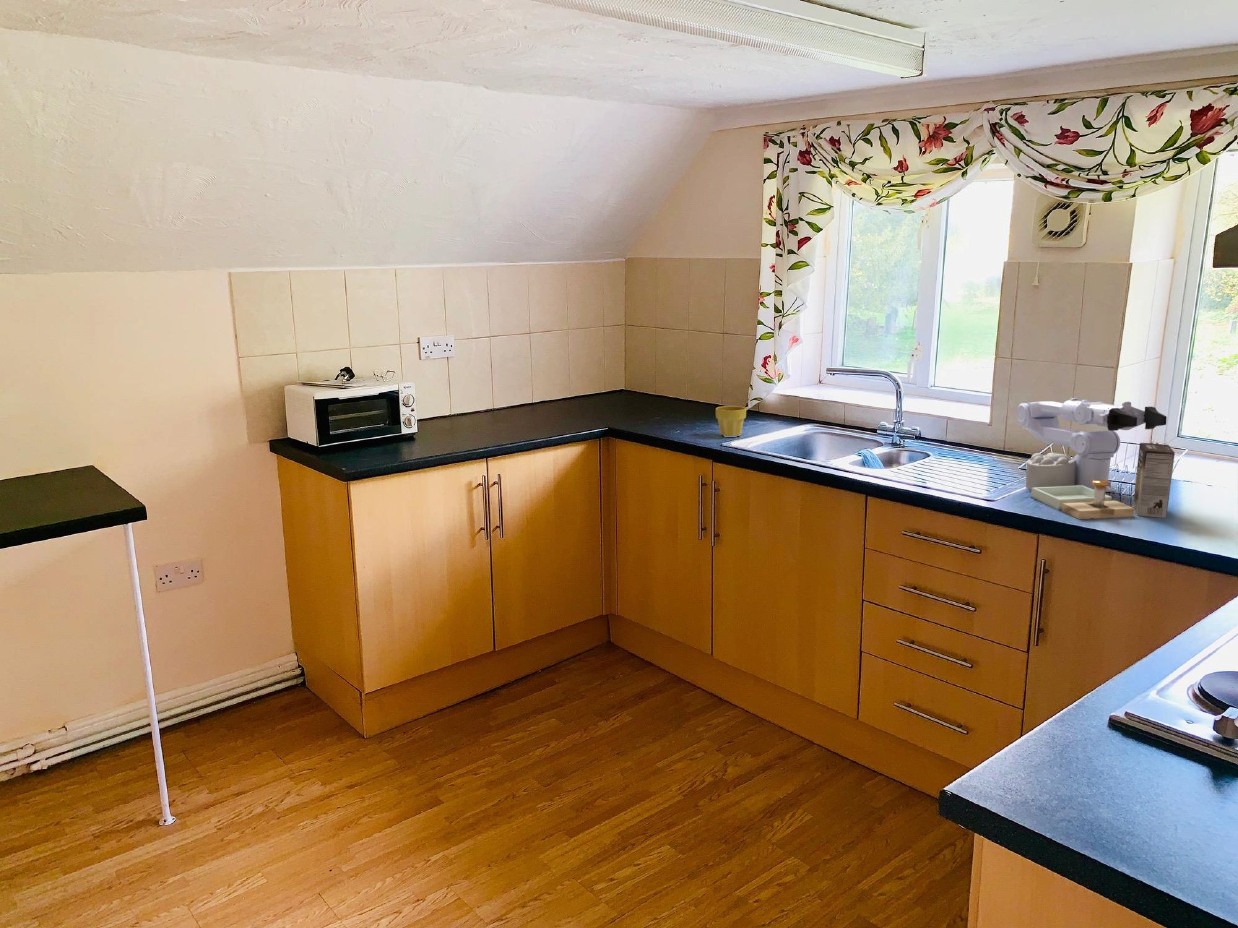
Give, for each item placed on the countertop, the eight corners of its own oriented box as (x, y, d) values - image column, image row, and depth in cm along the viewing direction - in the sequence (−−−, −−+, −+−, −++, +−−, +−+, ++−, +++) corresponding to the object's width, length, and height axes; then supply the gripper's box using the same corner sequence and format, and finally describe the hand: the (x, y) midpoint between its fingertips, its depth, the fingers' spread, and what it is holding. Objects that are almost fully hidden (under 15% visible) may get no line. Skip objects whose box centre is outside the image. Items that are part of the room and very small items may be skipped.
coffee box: (1131, 506, 233) (1139, 442, 230) (1161, 508, 231) (1169, 444, 227) (1136, 515, 225) (1144, 449, 221) (1167, 518, 223) (1175, 451, 219)
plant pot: (710, 434, 327) (710, 406, 325) (738, 432, 330) (738, 404, 328) (722, 440, 318) (723, 411, 315) (750, 437, 321) (751, 409, 318)
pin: (1084, 511, 229) (1087, 479, 227) (1099, 511, 229) (1103, 479, 227) (1094, 516, 225) (1098, 483, 223) (1110, 515, 225) (1114, 483, 224)
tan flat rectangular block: (1061, 511, 229) (1062, 503, 229) (1114, 508, 231) (1115, 500, 231) (1079, 519, 223) (1080, 511, 222) (1133, 516, 225) (1134, 508, 224)
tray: (1030, 497, 242) (1031, 487, 242) (1081, 494, 244) (1082, 485, 244) (1058, 509, 231) (1059, 499, 230) (1110, 506, 233) (1112, 497, 232)
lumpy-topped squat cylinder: (1080, 485, 251) (1082, 454, 249) (1050, 495, 245) (1052, 462, 243) (1045, 479, 260) (1046, 448, 258) (1015, 488, 253) (1016, 456, 251)
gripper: (1087, 401, 238) (1123, 405, 225) (1140, 399, 240) (1179, 403, 227) (1086, 429, 239) (1121, 435, 226) (1139, 427, 241) (1177, 432, 228)
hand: (1150, 421), depth 226 cm, fingers open, 7 cm apart
